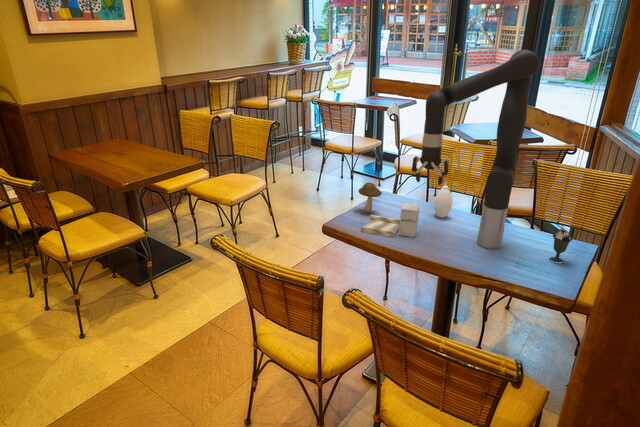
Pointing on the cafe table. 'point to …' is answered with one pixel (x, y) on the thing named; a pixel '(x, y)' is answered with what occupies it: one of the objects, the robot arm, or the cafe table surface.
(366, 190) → the mushroom
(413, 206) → the supplement box
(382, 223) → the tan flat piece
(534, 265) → the cafe table surface
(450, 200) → the sauce bottle
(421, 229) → the cafe table surface
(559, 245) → the sundae
